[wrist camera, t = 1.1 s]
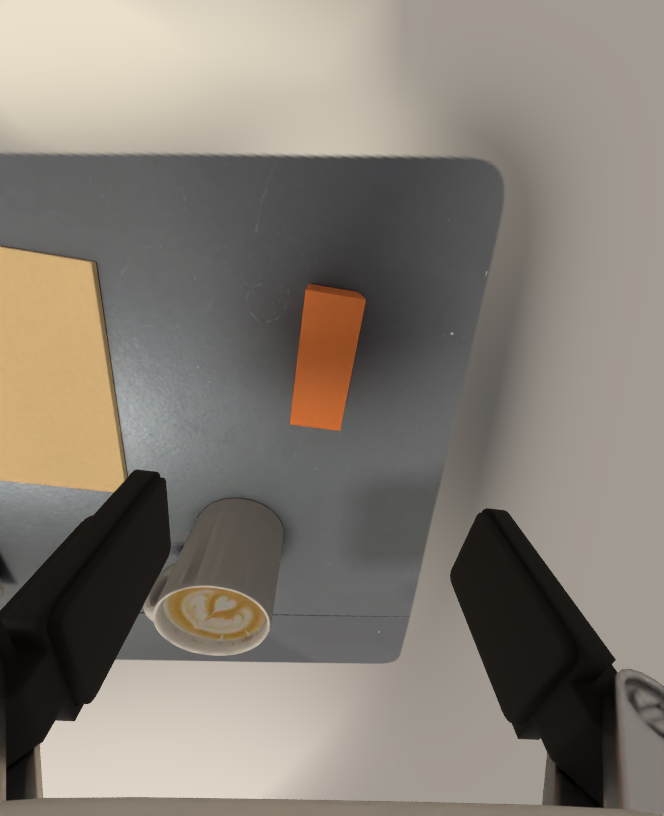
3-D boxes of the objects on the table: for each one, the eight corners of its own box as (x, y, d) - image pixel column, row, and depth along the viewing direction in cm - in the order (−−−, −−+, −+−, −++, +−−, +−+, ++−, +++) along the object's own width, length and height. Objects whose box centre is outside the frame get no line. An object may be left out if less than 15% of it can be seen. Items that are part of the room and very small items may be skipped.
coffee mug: (273, 492, 34) (255, 579, 25) (291, 556, 38) (281, 650, 29) (152, 507, 34) (90, 597, 25) (183, 569, 38) (140, 664, 29)
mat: (-142, 222, 22) (-154, 221, 22) (96, 261, 24) (90, 262, 23) (-38, 472, 32) (-44, 476, 31) (129, 489, 33) (126, 493, 32)
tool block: (308, 283, 25) (305, 289, 20) (358, 292, 25) (366, 299, 21) (294, 398, 29) (289, 424, 24) (337, 404, 29) (340, 431, 25)
